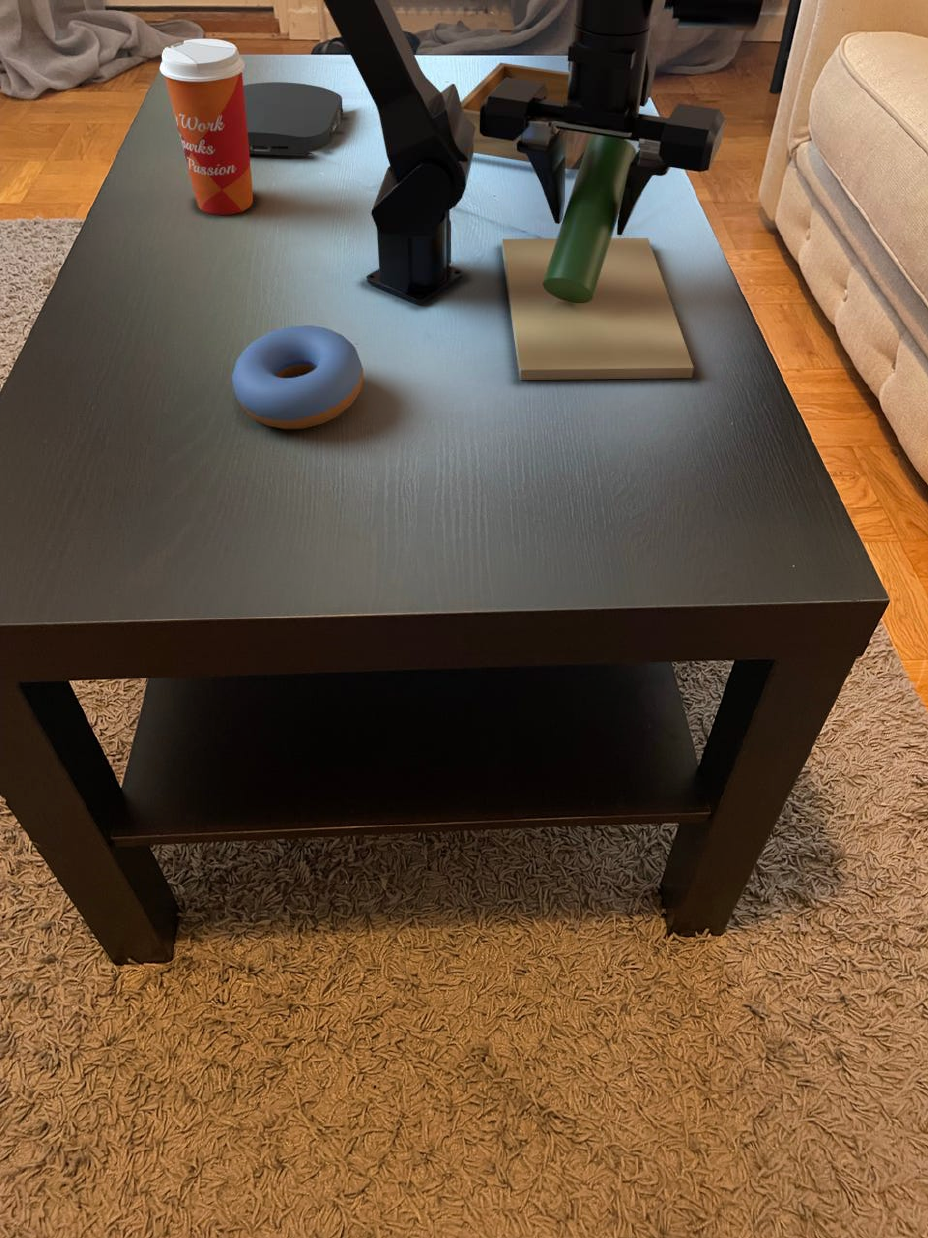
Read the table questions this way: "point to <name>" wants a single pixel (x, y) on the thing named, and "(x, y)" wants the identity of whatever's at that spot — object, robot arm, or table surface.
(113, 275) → the table surface
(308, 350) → the doughnut
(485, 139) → the wooden box
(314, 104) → the media streaming box
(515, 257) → the cutting board
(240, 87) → the paper cup
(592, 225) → the cucumber
